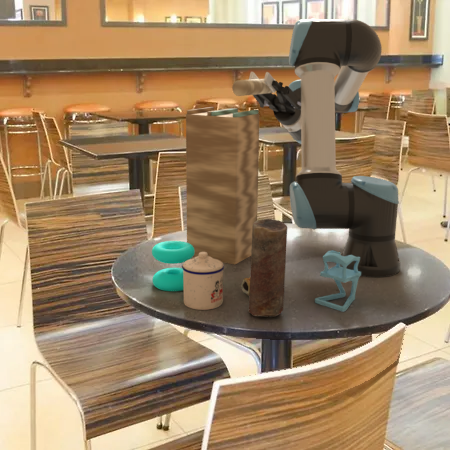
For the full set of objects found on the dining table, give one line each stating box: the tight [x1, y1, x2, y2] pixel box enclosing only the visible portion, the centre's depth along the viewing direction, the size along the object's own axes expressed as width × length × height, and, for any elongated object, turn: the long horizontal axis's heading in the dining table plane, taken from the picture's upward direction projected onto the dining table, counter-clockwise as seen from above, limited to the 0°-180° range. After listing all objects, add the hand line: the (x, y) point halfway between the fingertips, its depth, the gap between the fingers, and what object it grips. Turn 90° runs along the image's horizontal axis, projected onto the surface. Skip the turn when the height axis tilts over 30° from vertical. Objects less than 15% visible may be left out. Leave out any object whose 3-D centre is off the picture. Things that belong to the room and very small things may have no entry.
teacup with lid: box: [181, 252, 225, 311], centre depth 145 cm, size 12×9×12 cm
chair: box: [314, 249, 362, 312], centre depth 144 cm, size 8×8×12 cm
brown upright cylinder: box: [248, 218, 288, 318], centre depth 136 cm, size 8×7×20 cm
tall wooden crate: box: [185, 106, 260, 265], centre depth 174 cm, size 12×15×39 cm
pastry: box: [240, 276, 250, 297], centre depth 151 cm, size 9×7×4 cm
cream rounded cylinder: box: [231, 78, 277, 97], centre depth 176 cm, size 18×4×4 cm, turn 149°
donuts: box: [151, 240, 195, 292], centre depth 154 cm, size 10×10×10 cm
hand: (258, 76), depth 176 cm, fingers closed on cream rounded cylinder, 4 cm apart
